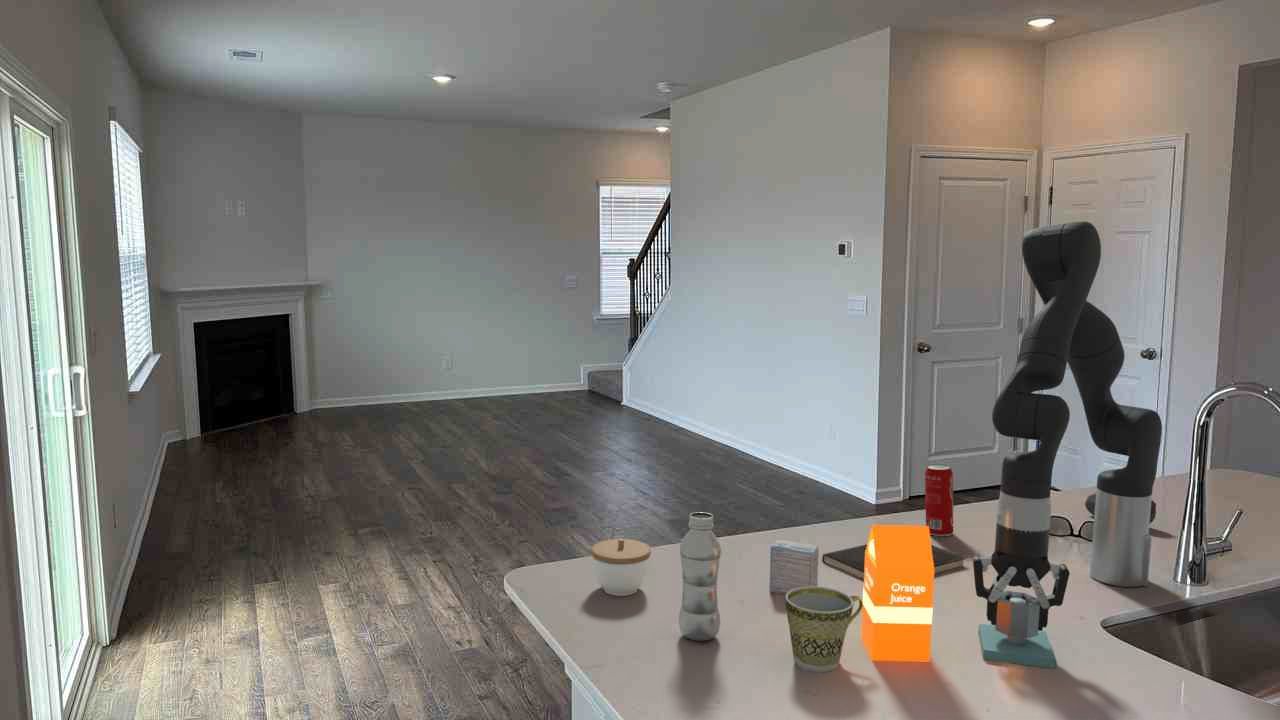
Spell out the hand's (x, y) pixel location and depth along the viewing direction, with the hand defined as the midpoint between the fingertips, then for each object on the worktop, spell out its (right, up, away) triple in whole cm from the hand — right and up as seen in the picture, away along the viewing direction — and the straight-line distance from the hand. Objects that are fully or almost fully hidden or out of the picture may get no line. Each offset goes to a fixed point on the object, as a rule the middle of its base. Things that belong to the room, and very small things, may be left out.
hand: (1015, 625), depth 140 cm
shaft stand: (0, -4, 0) cm, 4 cm away
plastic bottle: (-49, -3, +4) cm, 49 cm away
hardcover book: (-8, 0, +38) cm, 39 cm away
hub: (0, -1, 0) cm, 1 cm away
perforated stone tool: (+51, +4, +67) cm, 85 cm away
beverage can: (+7, +3, +57) cm, 58 cm away
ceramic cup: (-31, -4, -4) cm, 31 cm away
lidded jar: (-62, 0, +23) cm, 66 cm away
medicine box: (-31, -1, +23) cm, 38 cm away
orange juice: (-19, -4, 0) cm, 19 cm away
